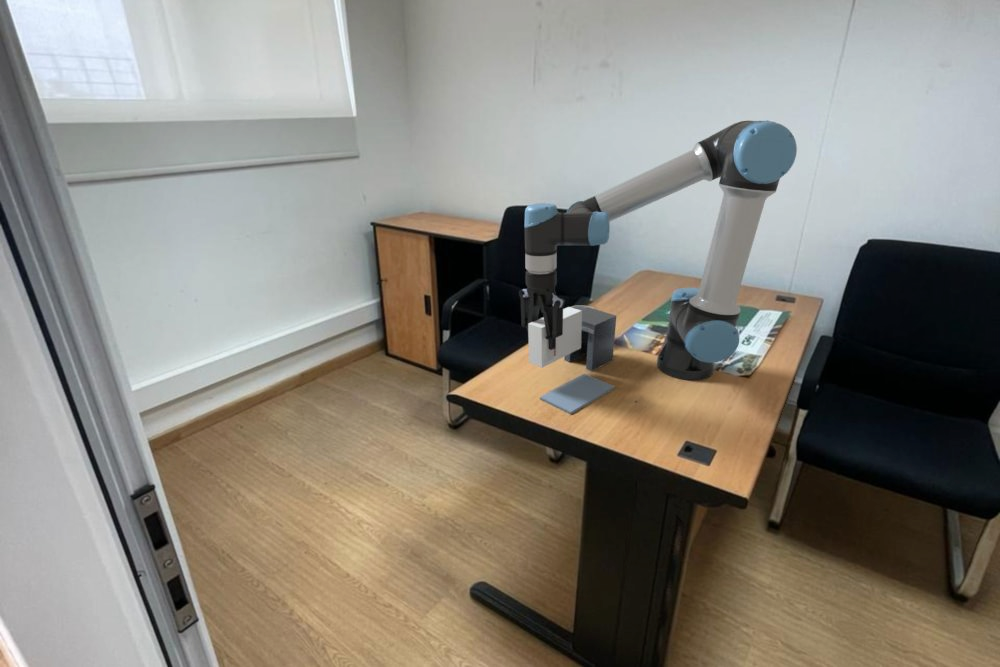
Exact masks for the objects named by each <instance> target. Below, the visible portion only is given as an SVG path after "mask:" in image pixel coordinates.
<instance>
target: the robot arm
mask: <svg viewBox="0 0 1000 667" xmlns="http://www.w3.org/2000/svg"><path fill="white" fill-rule="evenodd" d="M797 150H798V148H797V141H796V139H795V136H794V135H793V133H792V132H791V130H790V129H788V127H786V126H785V125H783V124H781V123H778V122H776V121H771V120H742V121H738V122H735V123H733V124H731V125H729V126H726V127H724V128H723V129H721V130H719V131H717V132H716V133H714V134H712V135H710V136H708V137H706V138H704V139H702V140H700V141H698V142H696V143H695V144H694V146H693V149H692V150H689V151H687V152H685V153H683V154H681V155H678V156H677V157H674V158H672V159H670V160H667V161H666V162H664V163H662V164H659V165H657V166H654V167H653V168H651V169H648V170H646V171H644V172H642V173H640V174H638V175H636V176H634V177H632V178H629V179H627V180H625V181H623V182H621V183H619V184H617V185H614V186H613V187H610V188H608V189H606V190H604V191H602V192H600V193H598V194H595V195H594V196H592V197H589V198H587V199H585V200H578V201H575V202H573V203H571V204H570V205H569V207H568V208H567V211H566V212H559V211H558V207H557V205H556V204H555V203H545V202H541V203H540V202H539V203H532V204H530V205H527V207H526V208H525V210H524V249H525V250H524V251H525V254H524V255H525V259H524V260H525V261H524V262H525V263H524V264H525V265H524V266H525V269H526V271H525V285H526V288H523V289H520V290H518V296H519V298H520V316H521V317H520V319H521V320H520V322H521V323H520V324H521V327H522V328H525V329H526V331H527V332H528V323H531V322H533V321H536V320H538V319H539V314H540V311H541V313H542V314H543V315H542V316H543V317H544V322H545V328H546V333H547V337H545V361H546V362H548V361H550V360H552V359H554V349H555V347H556V338H557V337H559V336H561V335H562V334H563V309H564V306H565V303H566V300H565V298H560V297H558V296H557V292H556V290H555V289H556V286H557V282H558V281H557V280H558V278H557V275H558V272H557V264H558V262H557V259H558V258H557V257H558V256H557V254H558V253H557V252H558V246H561V247H562V246H592V247H594V246H601V245H606V244H607V243H608V241H609V239H610V223H611V222H613V221H614V220H616V219H619V218H621V217H624V216H626V215H628V214H630V213H632V212H635V211H637V210H639V209H641V208H644V207H645V206H648V205H650V204H652V203H654V202H657V201H659V200H661V199H664V198H666V197H668V196H670V195H673V194H675V193H677V192H678V191H681V190H683V189H685V188H688V187H690V186H693V185H695V184H697V183H699V182H702V181H703V180H704V181H707V182H712V181H714V180H716V179H719V183H718V186H719V187H720V189H721V191H722V192H723V195H722V199H721V203H720V206H719V207H720V208H719V211H718V215H717V219H716V222H715V226H714V231H713V235H712V238H711V243H710V246H709V250H708V254H707V258H706V261H705V266H704V268H703V274H702V277H701V281H700V285H699V288H698V287H682V288H681V287H680V288H677V289H675V290H674V291H673V292H672V296H671V299H670V307H669V308H670V310H669V317H668V326H667V335H666V340H665V342H664V344H663V346H662V348H661V349H660V351H659V353H658V355H657V360H656V367H657V368H658V370H660V371H661V372H663V373H664V374H665V375H668V376H670V377H674V378H677V379H681V380H682V379H683V380H688V381H689V380H693V381H694V380H695V381H696V380H703V379H708V378H709V377H711V376H712V375H713V374H714V370H715V363H718V362H721V361H724V360H725V359H727V358H730V357H731V356H733V354H734V353H735V352H736V350H738V347H739V343H740V333H739V331H738V328H737V324H738V321H739V317H740V314H741V310H742V309H741V307H740V306H739V304H738V303H737V298H738V295H739V292H740V289H741V284H742V282H743V278H744V275H745V271H746V269H747V264H748V261H749V258H750V256H751V251H752V247H753V245H754V244H753V243H754V241H755V238H756V234H757V230H758V226H759V223H760V219H761V217H762V214H763V211H764V210H763V209H764V205H765V202H766V200H767V199H768V198H769V197H771V196H772V195H773V194H775V193H776V192H777V190H778V187H779V186H778V185H779V184H780V180H781V178H783V177H784V176H785V175H786V174H787V173H788V172H789V171H790V170H791V168H792V166H794V163H795V160H796V158H797V152H798V151H797ZM527 340H528V342H529V337H528V336H527Z"/></svg>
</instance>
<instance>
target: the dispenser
mask: <svg viewBox="0 0 1000 667" xmlns="http://www.w3.org/2000/svg"><path fill="white" fill-rule="evenodd" d="M593 308H594V307H592V308H589V307H587V308H584V309H582V330H581V348H580V349H578V350H576V351H574V352H572V353H570V354H568V355H566V356H564V357H563V358H564V359H563V360H564V361H566V362H568V363H571V362H573V361H575V360H577V359H579V358H581V357H584V356H585V355H586V363H585V364H586V365H585V370H588V371H590V372H593V371H596V370H597V369H599V368H601V367H602V366H604V365H606V364H608V363H610V362H612V361H613V359H614V349H615V348H614V347H615V339H616V338H615V336H616V326H617V324H616V323H617V315H615V314H612V313H609V312H606V311H602V310H599V309H596V308H594V309H593Z"/></svg>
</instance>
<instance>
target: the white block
mask: <svg viewBox="0 0 1000 667" xmlns="http://www.w3.org/2000/svg"><path fill="white" fill-rule="evenodd" d="M571 307H572V306H567V307H565V308H563V334H562V335H561V336H559V337H557V338H556V347H555V349H554V359H552V360H550V361H548V362H546V361H545V337H547V333H546V328H545V322H544V316H543V317H540V318H538V320H536V321H533V322H531V323H528V331H527V338H528V337H529V341H528V363H529V364H532V365H533V366H536V367H539V368H541V369H542V368H544V367H546V366H548V365H551V364H552V363H554V362H557V361H559V360H560V359H562V358H564V356H566V355H568V354H570V353H572V352H574V351H576V350H578V349H580V348H581V330H582V310H578V309H575V308H571Z"/></svg>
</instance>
